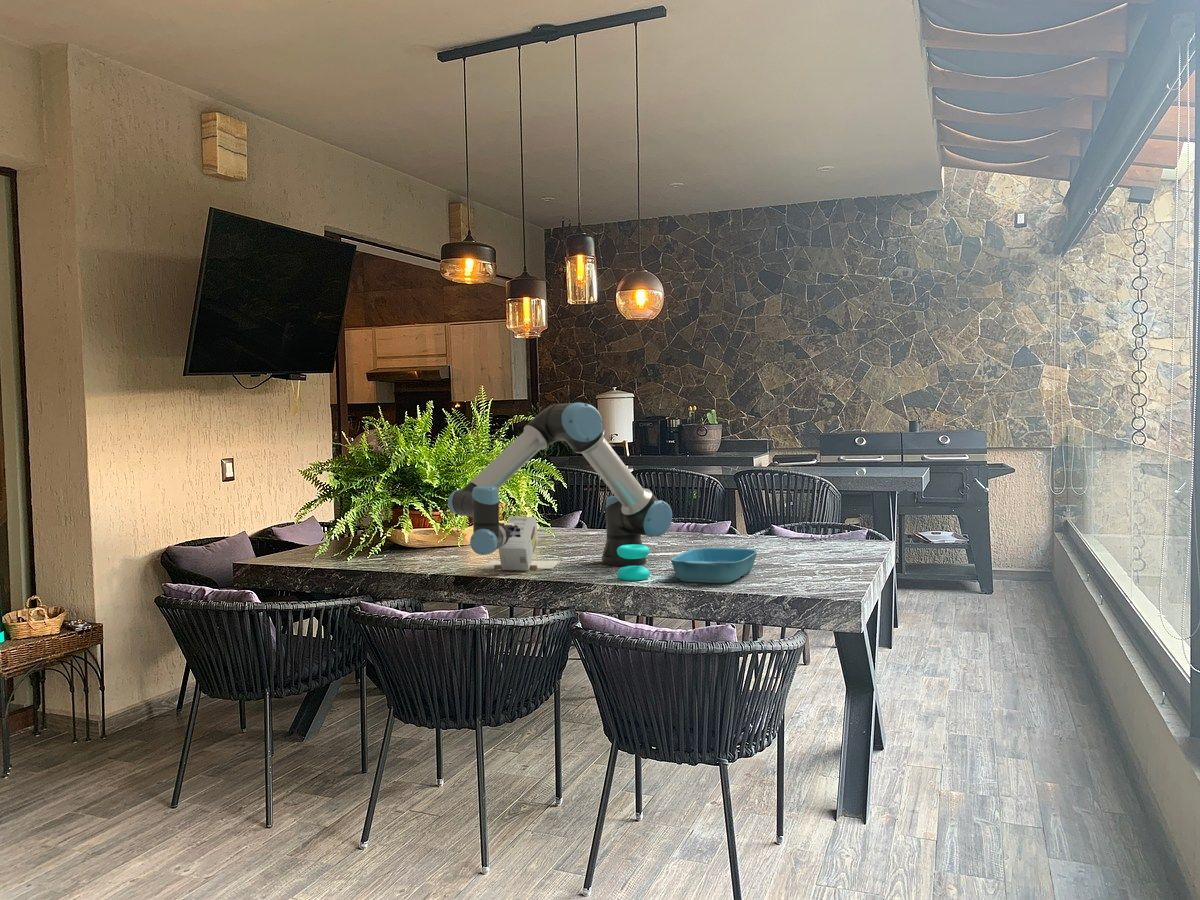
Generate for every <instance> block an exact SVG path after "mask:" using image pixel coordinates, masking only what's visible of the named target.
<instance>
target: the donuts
mask: <svg viewBox="0 0 1200 900" xmlns="http://www.w3.org/2000/svg"><path fill="white" fill-rule="evenodd" d="M617 554H618V555H619V556H620V557H622V558H625V559H640V558H644V557H646V558H647V556H649V554H650V547H648V546H647V545H645V544H644V545H643V544H642V545H637V544H631V545H622V546H620V547H618V548H617ZM616 573H617V574H616V575H617V577H618V579H620V580H622V581H629V582H632V581H633V582H637V581H644V580H647V579H648V578H649V577H650V574H651V572H650V569H648V568H647V567H646V566H641V565H633V566H621V567H620V568H619V569H618V570H617V572H616Z"/></svg>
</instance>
